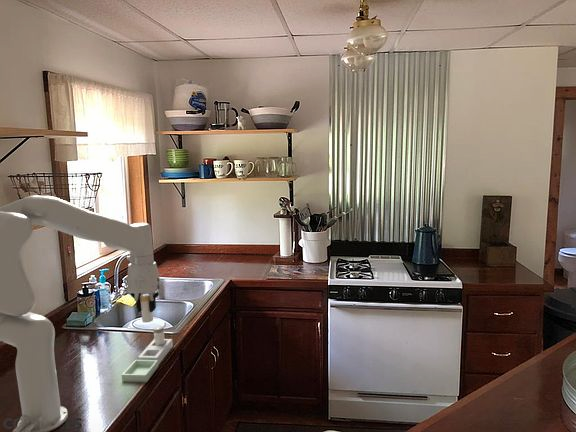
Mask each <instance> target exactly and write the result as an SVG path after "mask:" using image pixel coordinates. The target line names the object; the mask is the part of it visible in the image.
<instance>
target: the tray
mask: <svg viewBox="0 0 576 432" xmlns="http://www.w3.org/2000/svg"><path fill="white" fill-rule="evenodd" d="M158 368H159V365H158V360H138V359H135V360H134V361H132V363H131V364H130V365H128V367H127V368H126V369H125V370H124V371H123V372H122V374H121V380H122V383H148V382H149V380H150V378H151V377H152V376H153V375H154V373H156V371H157V370H158Z"/></svg>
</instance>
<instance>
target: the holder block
mask: <svg viewBox="0 0 576 432" xmlns="http://www.w3.org/2000/svg"><path fill="white" fill-rule="evenodd" d="M173 345H174V343H173V338H165V345H164V346H155V340H154V339H152V341H151V342H150V343H149V344H148V345H147V346H146V347H145V349H144V350H143V351H142V352H141V353H140V354H139V355H138V356H137V360H158V366H159V365H160V363H162V361H163V360H164V359H165V357H166V356H167V354H169V352H170V351H171V350H172V348H174V347H173Z"/></svg>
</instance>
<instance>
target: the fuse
mask: <svg viewBox="0 0 576 432" xmlns="http://www.w3.org/2000/svg"><path fill="white" fill-rule="evenodd" d="M152 329H153V340H155V346H164V345H165V339H166V338H165V327H164V326H163V325H157V326H154V327H153V328H152Z"/></svg>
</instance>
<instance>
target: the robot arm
mask: <svg viewBox="0 0 576 432" xmlns="http://www.w3.org/2000/svg"><path fill="white" fill-rule="evenodd" d="M34 226H42V227H47V228H49V229H53V230H55V231H58V232H61V233H64V234H67V235H69V236H73V237H76V238H78V239H82V240H86V241H91V242H92V241H93V242H100V243H103V244H104V245H105V246H106V247H107V248H109V249H112V250H116V251H123V252H124V251H125V252H129V256H128V255H127V256H126V260H127V261H129V264H128V266H127V277H126V278H127V281H126V282H127V288H126V289H125V293H126V294H128V295H129V296H131V297H132V298H133V299H134V301H135V303H136V310H137V312H138V313H142V312H141V302H140V296H141V295H142V294H149V296H150V301H149V309H150V312H152V313H153V312H154V311H155V310H156V308H157V302H156V299H157V298H158V297H159V296H160V295H162V294H163V293H165V289H164V287H163V285H162V284H161V279H160V273H159V269H158V265H157V262H156V261H154V260H155V258H154V249H153V236H152V227H151V225H150V223H147V222H136V223H132V224H129V223H126V222H123V221H120V220H117V219H114V218H111V217H108V216H105V215H103V214H100V213H96V212H93V211H90V210H88V209H86V208H83V207H80V206H78V205H75V204H74V203H71V202H68V201H67V200H63V199H60V198H59V197H55V196H53V195H52V196H51V195H29V196H26V197H23V198H21V199H18V200H15V201H12V202H10V203H8V204H5V205H3V206H0V341H1V342H2V343H4V344H7V345H11V346H12V347H15V348H16V350H17V352H16V358H15V365H14V366H15V373H16V381H17V386H18V394H19V401H20V408H21V409H20V410H21V415H20V419H19V421H18V422H17V424H16V425H17V426H16V427H15V428H14V429H13V430H12V432H51V431H53V430H55V429H56V428H58V427H60V426H61V425H63V423H64V422H66V421H67V419H68V418H69V417H68V416H69V415H68V412H69V411H68V409H67V408H66V407H65V406H61V405H62V404H61V397H60V391H59V384H58V383H59V382H58V376H57V369H56V368H57V367H56V359H55V348H54V347H55V336H56V331H55V327H54V325H53V322H51V320H50V319H49V318H47V317H46V316H44V315H41V314H38V313H35V312H31V311H33V309H34V307H35V305H36V302H37V299H36V298H37V297H36V293H35V290H34V288H33V286H32V283H31V281H30V279H29V276H28V274H27V271H26V269H25V266H24V263H23V258H22V257H23V252H24V248H25V247H26V245H27V243H28V242H29V240H30V239H31V237H32V235H33V231H34Z"/></svg>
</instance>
